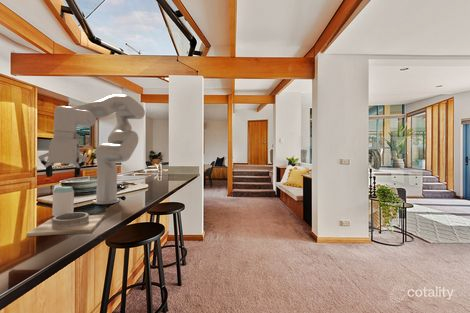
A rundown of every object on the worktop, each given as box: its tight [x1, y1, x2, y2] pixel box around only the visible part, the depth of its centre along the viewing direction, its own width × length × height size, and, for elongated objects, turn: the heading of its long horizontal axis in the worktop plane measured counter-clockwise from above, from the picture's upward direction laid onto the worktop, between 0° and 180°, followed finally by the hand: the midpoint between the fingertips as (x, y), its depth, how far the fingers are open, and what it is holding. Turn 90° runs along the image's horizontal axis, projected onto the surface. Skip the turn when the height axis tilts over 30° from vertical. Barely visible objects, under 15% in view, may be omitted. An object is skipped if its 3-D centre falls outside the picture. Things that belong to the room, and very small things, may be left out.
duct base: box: [26, 211, 106, 237], centre depth 82 cm, size 18×18×4 cm
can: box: [51, 185, 75, 217], centre depth 94 cm, size 7×7×12 cm
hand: (63, 176), depth 93 cm, fingers open, 9 cm apart
